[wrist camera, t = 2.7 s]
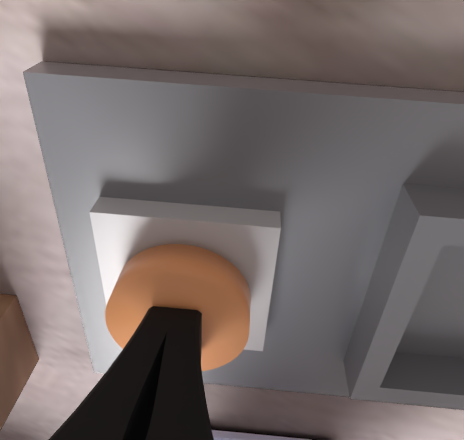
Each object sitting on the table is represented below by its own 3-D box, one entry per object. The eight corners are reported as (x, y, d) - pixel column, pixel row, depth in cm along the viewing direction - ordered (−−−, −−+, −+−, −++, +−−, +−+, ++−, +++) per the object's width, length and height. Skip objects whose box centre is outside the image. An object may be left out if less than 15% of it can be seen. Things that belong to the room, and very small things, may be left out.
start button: (246, 345, 13) (244, 377, 12) (124, 334, 14) (113, 365, 13) (256, 250, 11) (255, 281, 10) (110, 238, 11) (95, 267, 10)
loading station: (529, 392, 17) (565, 454, 15) (102, 352, 18) (80, 407, 16) (755, 113, 10) (878, 158, 8) (41, 61, 11) (-12, 91, 9)
